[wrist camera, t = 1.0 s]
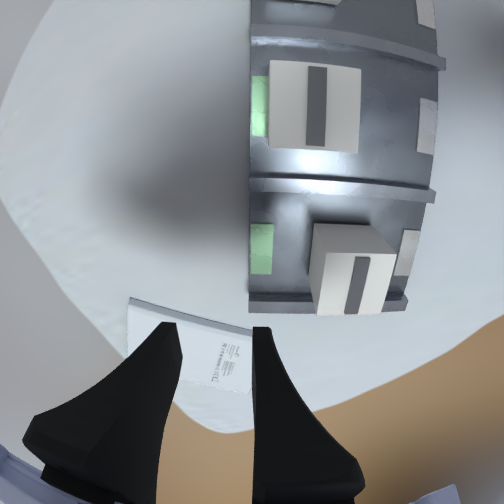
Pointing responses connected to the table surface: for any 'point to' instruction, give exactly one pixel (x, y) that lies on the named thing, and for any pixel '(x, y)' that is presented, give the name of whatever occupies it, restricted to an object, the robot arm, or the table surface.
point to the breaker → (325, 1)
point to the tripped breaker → (349, 269)
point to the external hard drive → (198, 346)
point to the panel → (341, 163)
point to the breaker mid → (313, 106)
